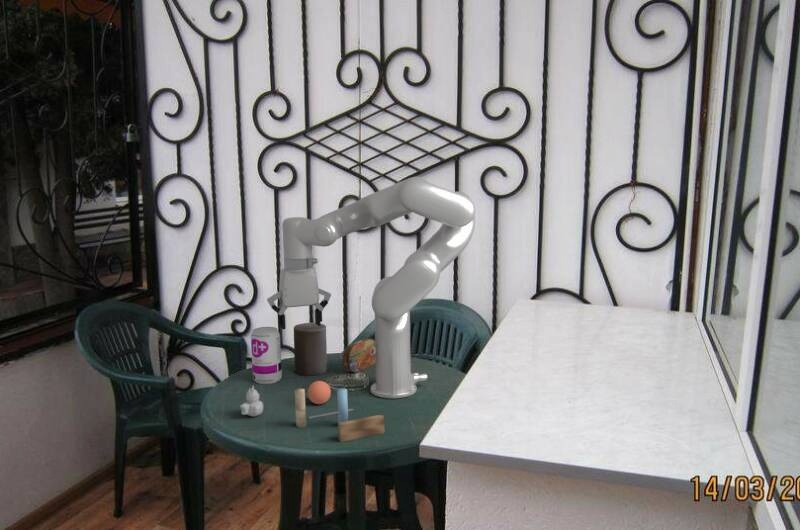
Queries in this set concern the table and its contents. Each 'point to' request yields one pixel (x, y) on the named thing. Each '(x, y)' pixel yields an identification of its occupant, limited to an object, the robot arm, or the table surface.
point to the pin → (342, 405)
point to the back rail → (361, 428)
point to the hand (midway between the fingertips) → (300, 326)
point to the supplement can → (266, 355)
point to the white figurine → (252, 403)
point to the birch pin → (300, 408)
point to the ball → (319, 392)
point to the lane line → (327, 414)
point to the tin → (359, 355)
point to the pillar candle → (310, 349)
